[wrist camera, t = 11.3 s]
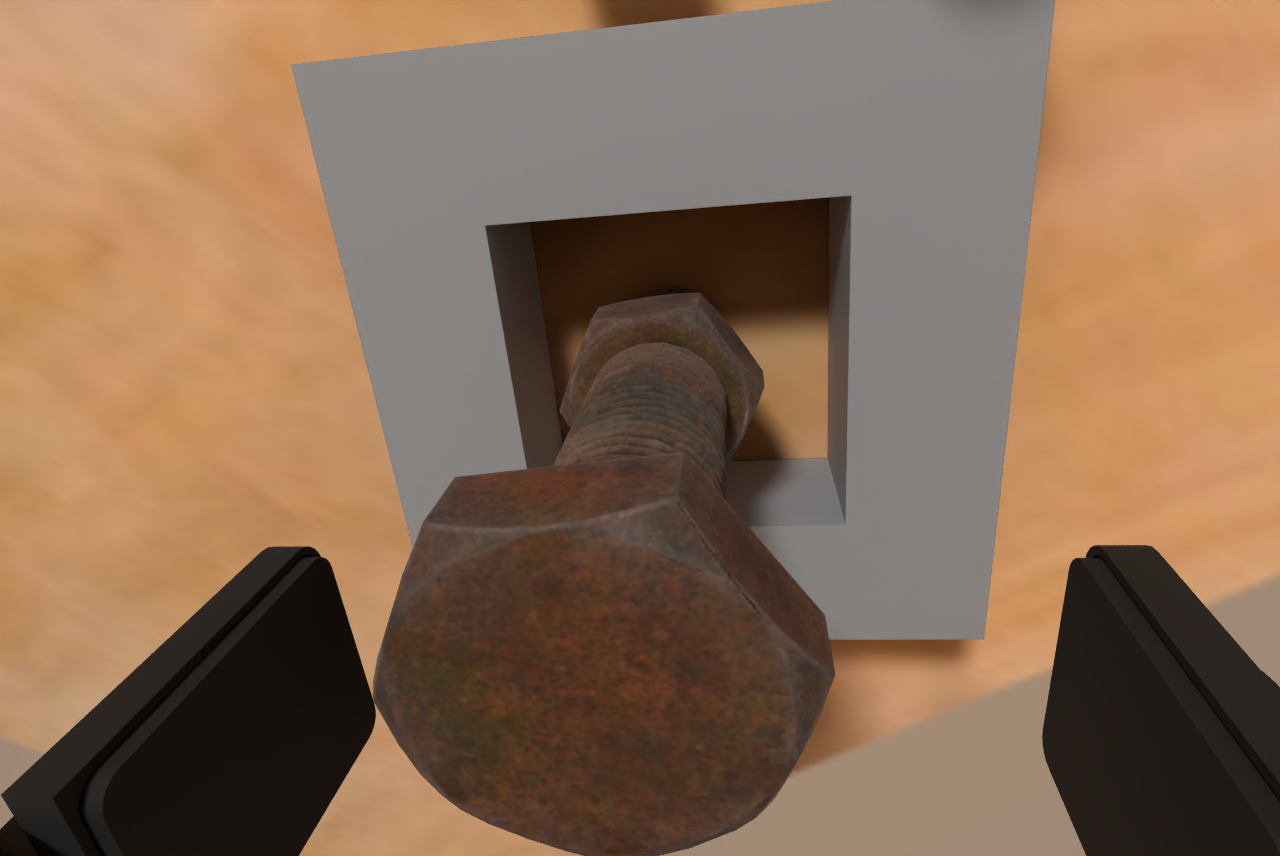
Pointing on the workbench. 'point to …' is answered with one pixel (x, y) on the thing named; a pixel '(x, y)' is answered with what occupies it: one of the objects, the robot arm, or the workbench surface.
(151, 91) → the workbench surface
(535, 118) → the frame
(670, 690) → the bolt
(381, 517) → the workbench surface
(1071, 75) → the workbench surface
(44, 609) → the workbench surface
